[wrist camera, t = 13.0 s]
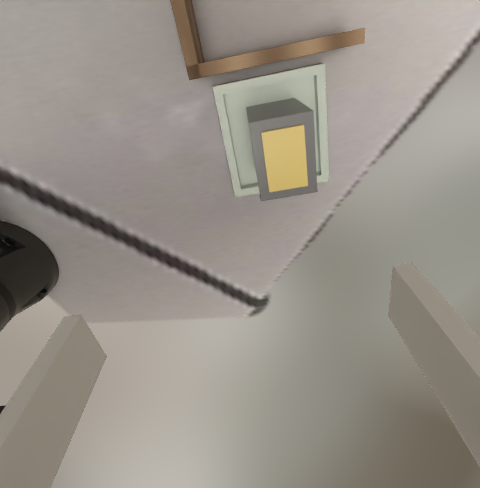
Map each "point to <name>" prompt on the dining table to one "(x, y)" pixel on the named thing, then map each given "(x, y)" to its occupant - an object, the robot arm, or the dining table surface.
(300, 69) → the tray
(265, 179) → the grey box yellow panel
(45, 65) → the dining table surface
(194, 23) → the bay
